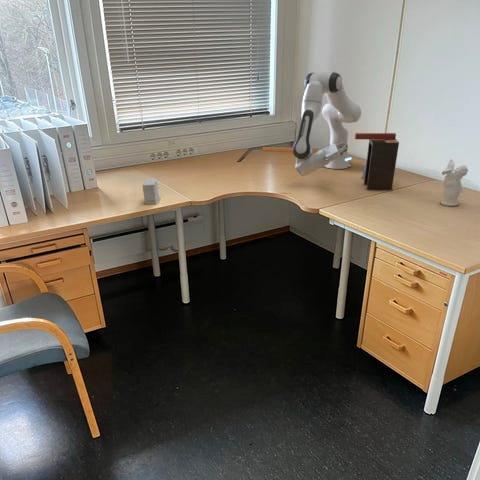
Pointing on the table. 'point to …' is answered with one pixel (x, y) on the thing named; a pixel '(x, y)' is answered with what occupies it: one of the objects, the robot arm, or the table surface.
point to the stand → (381, 164)
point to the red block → (375, 135)
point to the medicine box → (364, 171)
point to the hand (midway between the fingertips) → (345, 145)
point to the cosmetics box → (151, 191)
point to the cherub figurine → (452, 183)
